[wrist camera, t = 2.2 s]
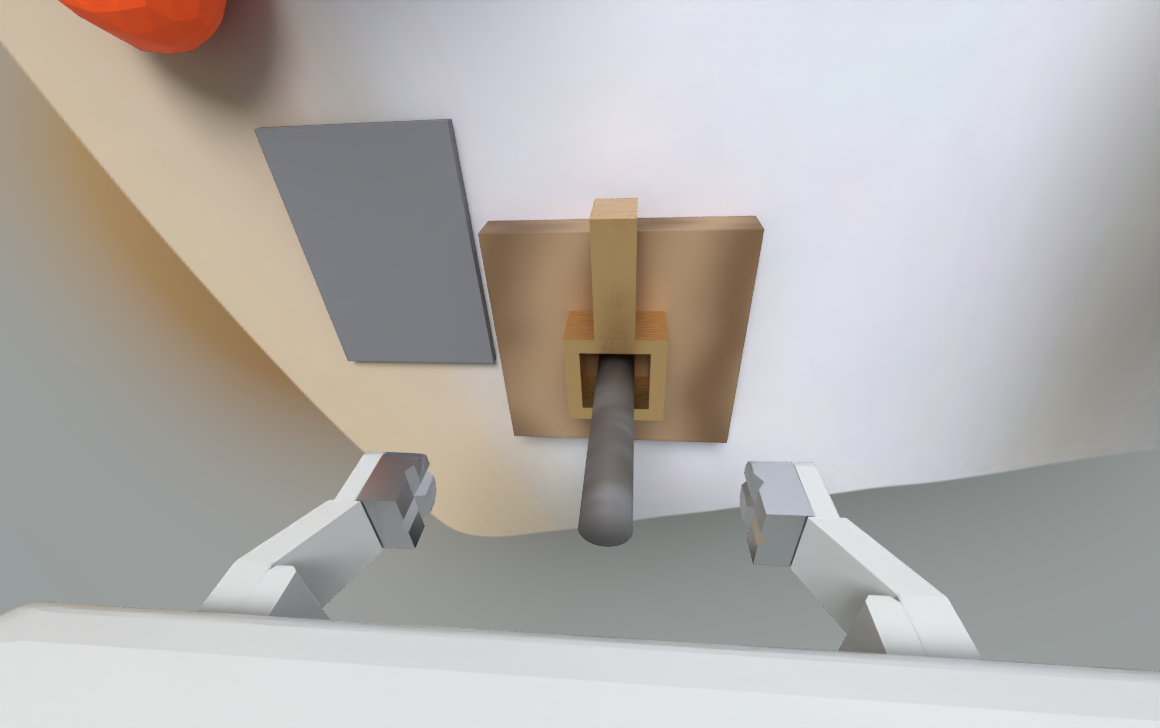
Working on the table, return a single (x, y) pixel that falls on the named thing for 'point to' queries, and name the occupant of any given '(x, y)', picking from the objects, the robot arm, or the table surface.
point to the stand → (694, 358)
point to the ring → (615, 316)
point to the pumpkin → (154, 21)
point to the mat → (386, 236)
